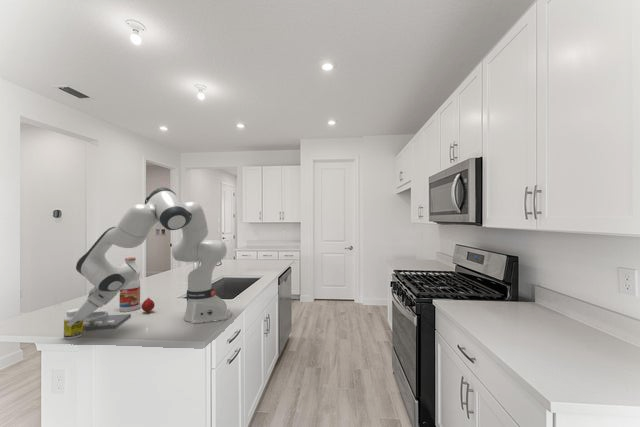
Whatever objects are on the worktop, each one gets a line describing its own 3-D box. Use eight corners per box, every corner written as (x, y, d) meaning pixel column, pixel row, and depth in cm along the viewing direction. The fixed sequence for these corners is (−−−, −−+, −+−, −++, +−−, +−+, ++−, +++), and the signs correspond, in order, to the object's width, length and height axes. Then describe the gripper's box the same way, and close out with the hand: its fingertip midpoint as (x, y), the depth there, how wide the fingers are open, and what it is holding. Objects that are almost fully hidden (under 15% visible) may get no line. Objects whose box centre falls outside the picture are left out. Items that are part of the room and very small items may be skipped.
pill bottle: (71, 340, 118) (72, 313, 118) (59, 339, 119) (60, 312, 119) (86, 334, 124) (87, 308, 124) (75, 333, 125) (75, 307, 125)
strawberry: (140, 315, 148) (140, 299, 148) (143, 311, 153) (143, 296, 153) (152, 314, 149) (152, 298, 149) (155, 310, 155) (156, 295, 155)
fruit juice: (143, 306, 161) (144, 256, 162) (132, 312, 152) (132, 259, 152) (127, 306, 162) (128, 256, 162) (115, 311, 152) (115, 259, 153)
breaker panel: (130, 317, 145) (130, 311, 145) (115, 328, 130) (115, 322, 130) (90, 319, 141) (90, 313, 141) (70, 331, 127) (70, 325, 127)
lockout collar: (111, 315, 142) (111, 310, 142) (100, 323, 132) (100, 318, 132) (88, 317, 140) (88, 312, 140) (75, 325, 130) (75, 319, 130)
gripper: (99, 285, 134) (71, 309, 129) (89, 296, 116) (57, 325, 111) (110, 293, 136) (84, 318, 131) (103, 305, 118) (72, 334, 113)
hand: (71, 321), depth 121 cm, fingers open, 8 cm apart
